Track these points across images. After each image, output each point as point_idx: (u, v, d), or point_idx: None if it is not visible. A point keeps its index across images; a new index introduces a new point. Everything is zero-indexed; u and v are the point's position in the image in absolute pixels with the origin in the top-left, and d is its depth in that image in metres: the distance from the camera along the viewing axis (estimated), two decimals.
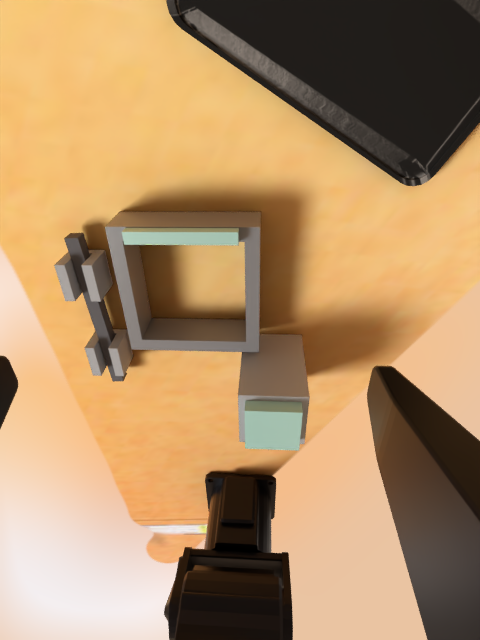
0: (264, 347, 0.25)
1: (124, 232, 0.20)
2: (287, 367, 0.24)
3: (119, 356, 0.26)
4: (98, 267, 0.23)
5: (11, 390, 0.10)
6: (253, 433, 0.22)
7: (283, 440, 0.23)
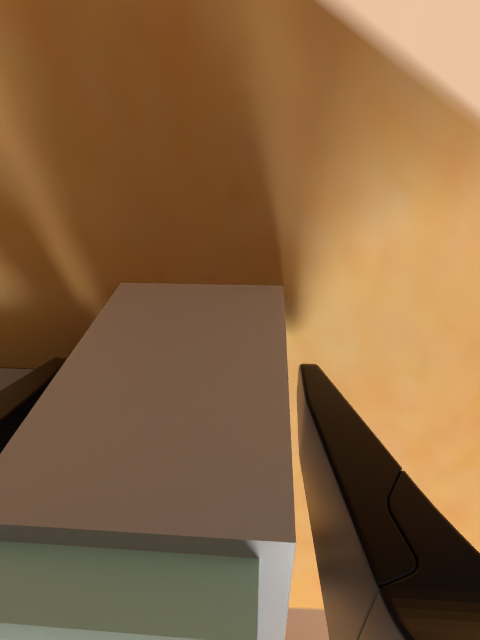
0: None
1: None
2: None
3: None
4: None
5: None
6: None
7: None
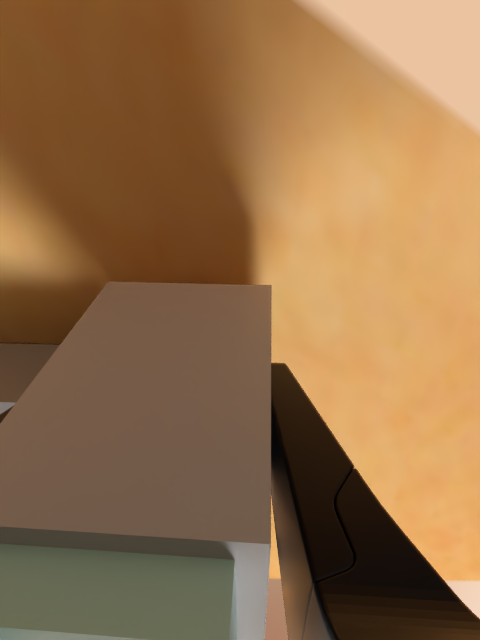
0: None
1: None
2: None
3: None
4: None
5: None
6: None
7: None
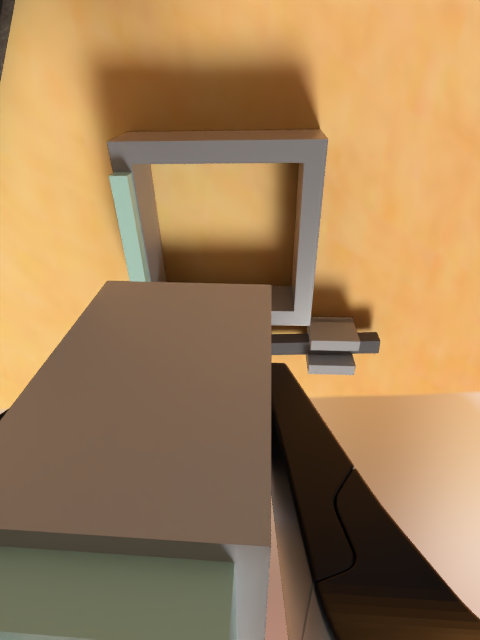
0: None
1: None
2: None
3: (326, 340, 0.19)
4: None
5: None
6: None
7: None
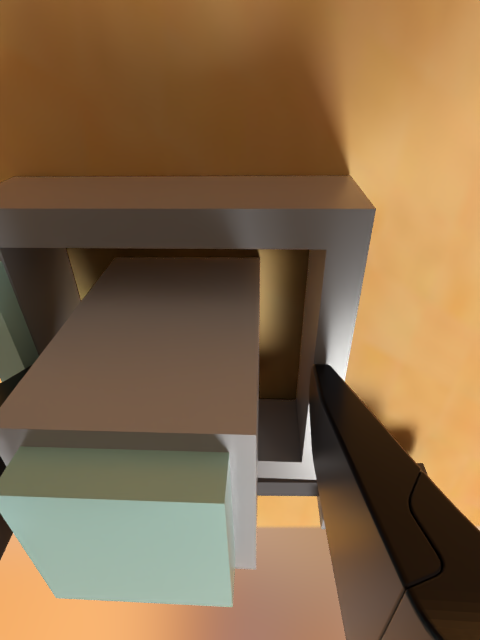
0: None
1: None
2: None
3: None
4: None
5: None
6: (152, 590, 0.07)
7: (169, 538, 0.06)
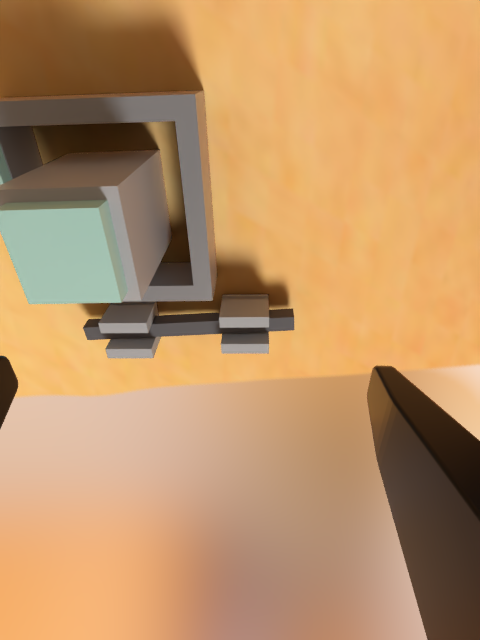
0: None
1: None
2: None
3: (234, 316, 0.19)
4: (113, 314, 0.20)
5: (11, 390, 0.10)
6: (77, 290, 0.13)
7: (78, 239, 0.12)
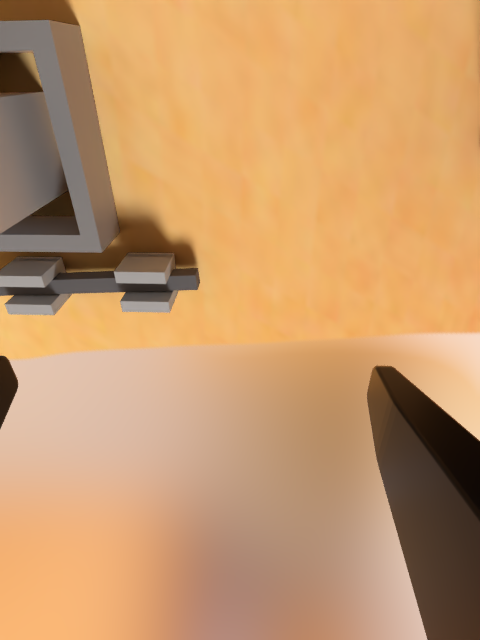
0: None
1: None
2: None
3: (129, 271, 0.18)
4: (12, 268, 0.19)
5: (11, 390, 0.10)
6: None
7: None
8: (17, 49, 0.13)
